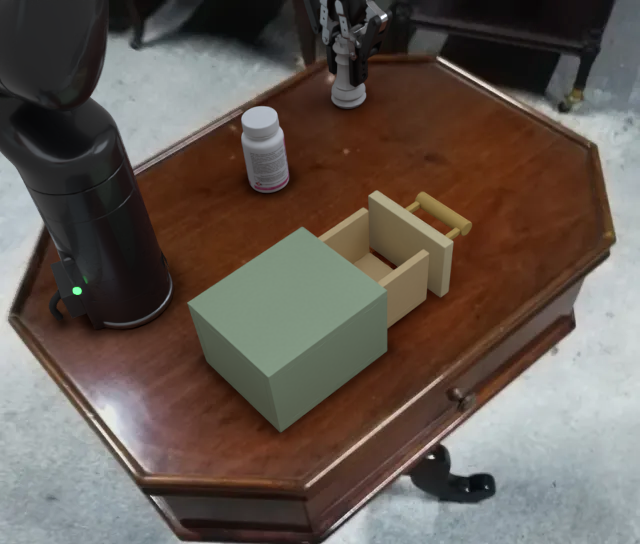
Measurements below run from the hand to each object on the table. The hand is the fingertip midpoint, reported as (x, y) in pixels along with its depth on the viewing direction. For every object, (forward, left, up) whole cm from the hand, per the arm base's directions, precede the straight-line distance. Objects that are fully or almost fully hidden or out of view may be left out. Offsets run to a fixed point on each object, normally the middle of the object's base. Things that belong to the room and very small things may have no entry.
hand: (347, 76), depth 92 cm
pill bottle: (-15, -9, -3) cm, 18 cm away
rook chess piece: (0, 0, -3) cm, 3 cm away
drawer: (-10, -31, -2) cm, 33 cm away
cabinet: (-22, -35, -3) cm, 41 cm away
